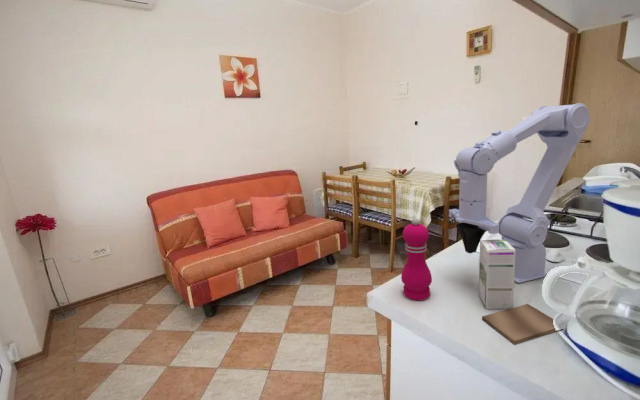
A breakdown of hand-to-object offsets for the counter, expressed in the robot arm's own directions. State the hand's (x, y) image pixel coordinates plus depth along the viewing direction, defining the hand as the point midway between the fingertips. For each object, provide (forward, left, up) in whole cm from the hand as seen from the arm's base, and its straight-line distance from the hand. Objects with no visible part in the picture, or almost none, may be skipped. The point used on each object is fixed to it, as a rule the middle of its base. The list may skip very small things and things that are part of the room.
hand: (470, 251), depth 75 cm
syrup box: (0, +8, -10) cm, 12 cm away
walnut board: (+1, +16, -9) cm, 19 cm away
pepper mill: (+14, -2, -10) cm, 17 cm away
